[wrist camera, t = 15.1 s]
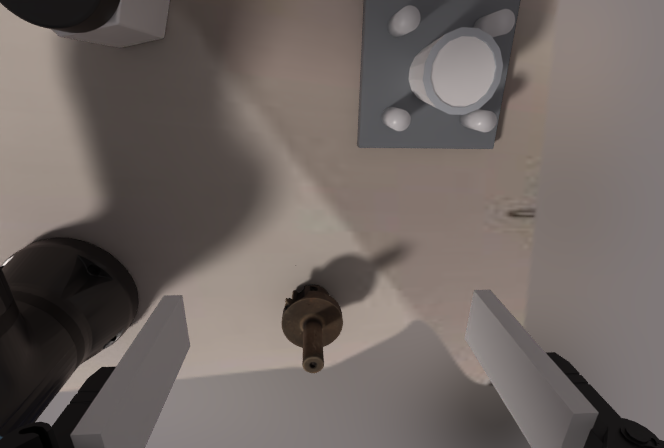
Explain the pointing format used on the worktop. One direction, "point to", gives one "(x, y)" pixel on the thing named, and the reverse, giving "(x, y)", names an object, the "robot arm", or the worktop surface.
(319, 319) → the industrial component
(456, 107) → the shot glass
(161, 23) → the jar
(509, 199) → the worktop surface
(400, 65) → the pin plate
